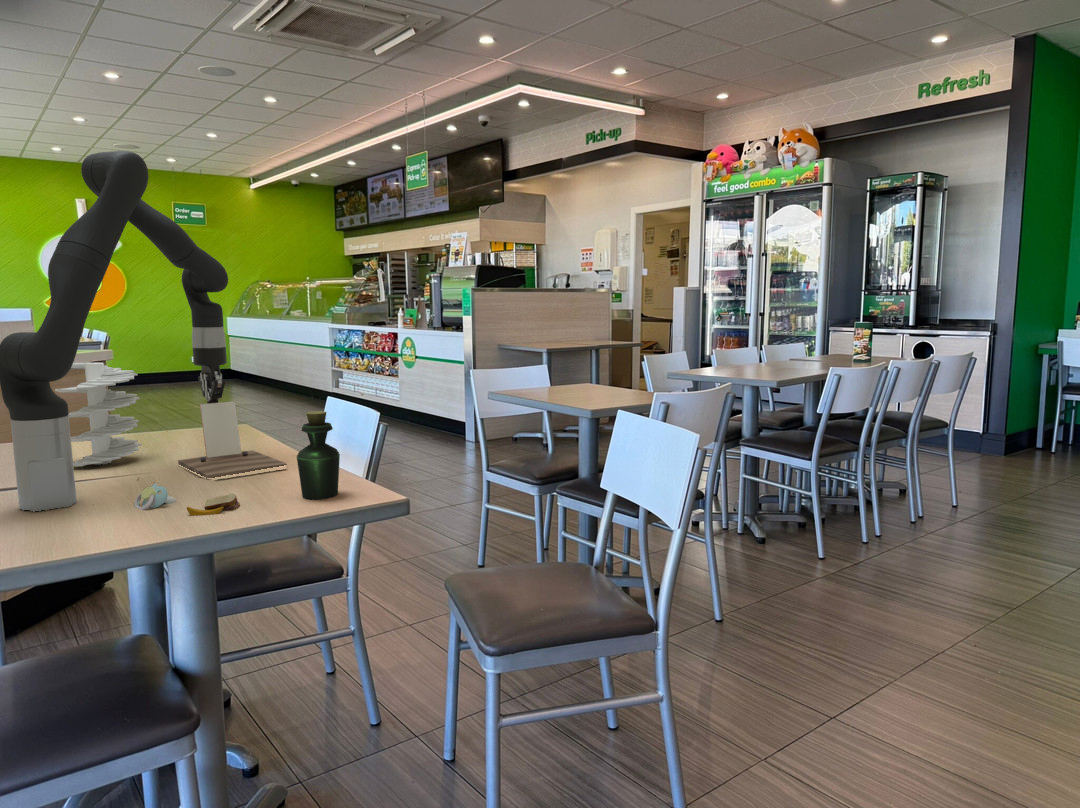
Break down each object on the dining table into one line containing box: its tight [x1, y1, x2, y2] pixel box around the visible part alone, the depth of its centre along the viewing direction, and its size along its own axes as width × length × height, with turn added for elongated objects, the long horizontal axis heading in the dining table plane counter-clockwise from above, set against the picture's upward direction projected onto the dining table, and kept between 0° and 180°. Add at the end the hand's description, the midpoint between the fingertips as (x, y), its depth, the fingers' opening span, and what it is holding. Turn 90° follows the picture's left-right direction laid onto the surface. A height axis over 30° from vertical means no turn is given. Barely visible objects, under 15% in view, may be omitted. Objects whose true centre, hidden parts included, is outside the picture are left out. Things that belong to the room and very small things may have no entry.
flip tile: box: [199, 401, 242, 458], centre depth 181 cm, size 13×8×1 cm
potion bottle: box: [296, 410, 341, 501], centre depth 145 cm, size 8×8×18 cm
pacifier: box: [133, 483, 178, 511], centre depth 141 cm, size 7×6×6 cm
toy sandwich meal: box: [186, 493, 241, 517], centre depth 137 cm, size 9×10×4 cm
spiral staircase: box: [54, 362, 142, 467], centre depth 182 cm, size 18×18×25 cm
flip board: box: [177, 450, 288, 478], centre depth 177 cm, size 22×18×3 cm
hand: (213, 415), depth 183 cm, fingers closed
